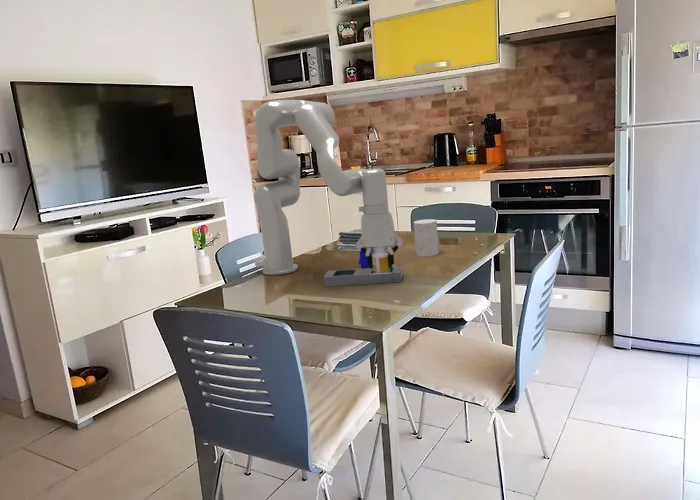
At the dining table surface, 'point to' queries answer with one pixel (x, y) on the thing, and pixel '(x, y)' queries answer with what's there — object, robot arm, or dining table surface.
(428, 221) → the cup
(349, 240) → the towel
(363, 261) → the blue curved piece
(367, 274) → the metal bottle holder tray
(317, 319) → the dining table surface
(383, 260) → the supplement bottle
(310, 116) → the robot arm
